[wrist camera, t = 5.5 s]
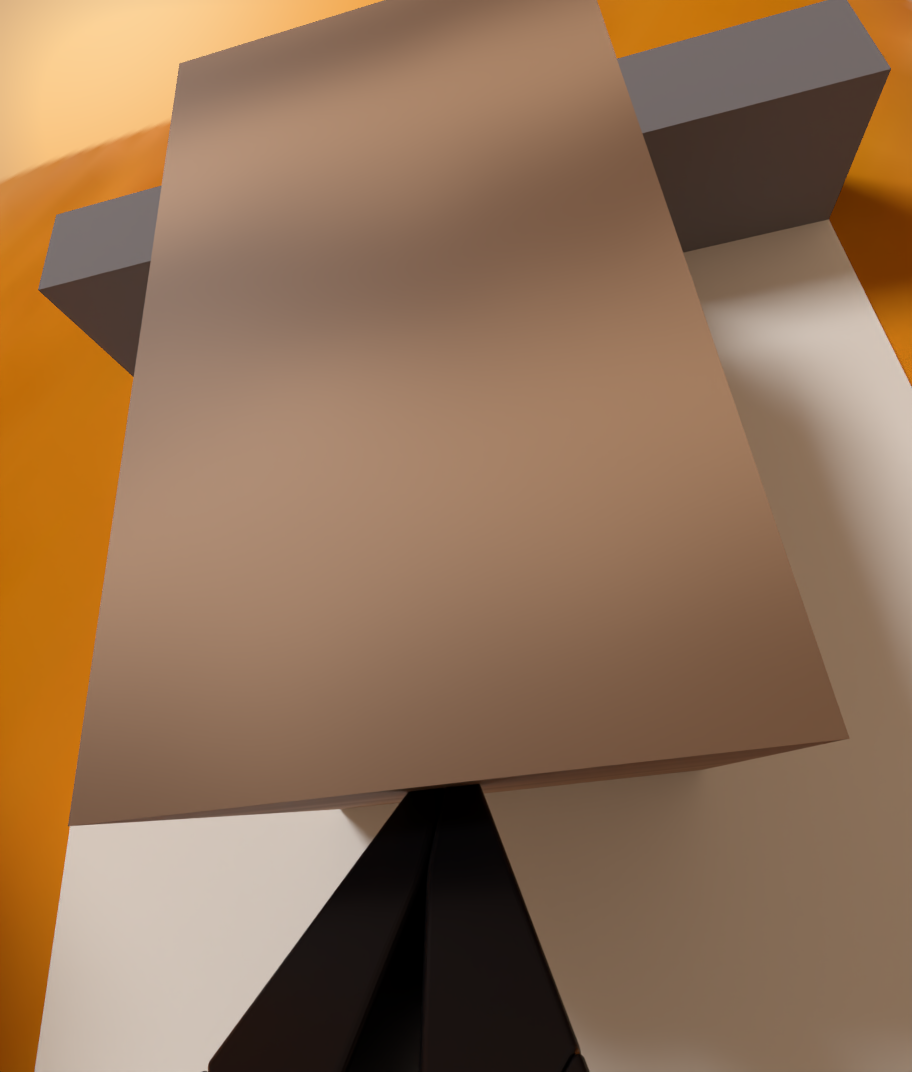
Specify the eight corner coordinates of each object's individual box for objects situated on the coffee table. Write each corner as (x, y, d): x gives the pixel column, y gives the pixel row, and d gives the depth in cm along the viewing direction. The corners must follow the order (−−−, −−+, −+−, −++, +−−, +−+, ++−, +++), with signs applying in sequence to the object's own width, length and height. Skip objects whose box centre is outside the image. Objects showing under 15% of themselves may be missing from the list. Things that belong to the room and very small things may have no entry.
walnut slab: (703, 769, 13) (848, 738, 6) (340, 809, 14) (67, 825, 7) (582, 275, 18) (576, -60, 11) (331, 332, 20) (179, 63, 12)
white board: (1318, 1256, 9) (1888, 1619, 5) (23, 1252, 12) (-250, 1473, 8) (786, 152, 19) (837, -16, 15) (153, 308, 22) (59, 203, 18)
